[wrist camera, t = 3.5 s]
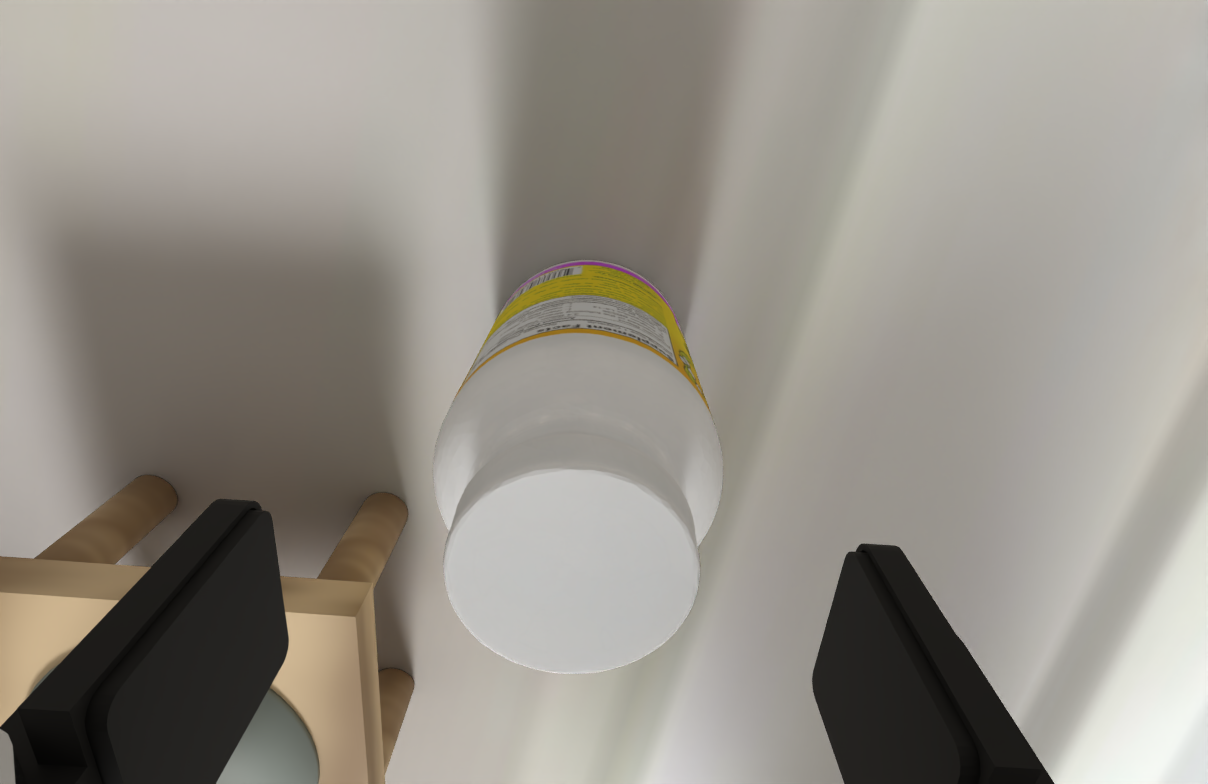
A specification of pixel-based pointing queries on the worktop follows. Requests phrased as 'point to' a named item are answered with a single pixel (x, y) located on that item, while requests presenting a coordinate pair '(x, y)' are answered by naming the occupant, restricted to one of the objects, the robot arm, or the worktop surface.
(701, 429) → the supplement bottle
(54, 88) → the worktop surface
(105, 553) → the footstool
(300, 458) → the worktop surface
